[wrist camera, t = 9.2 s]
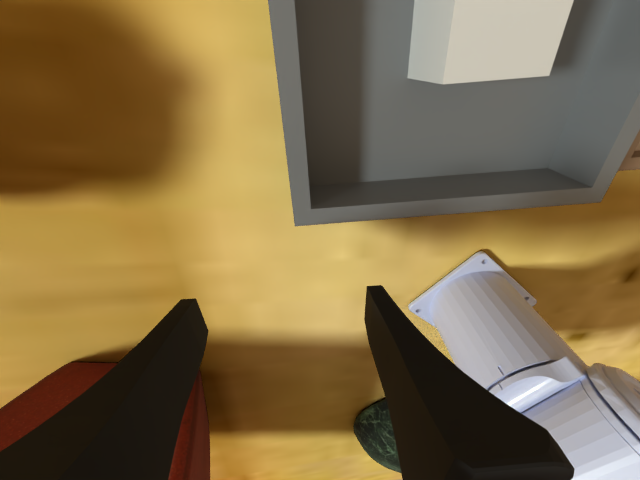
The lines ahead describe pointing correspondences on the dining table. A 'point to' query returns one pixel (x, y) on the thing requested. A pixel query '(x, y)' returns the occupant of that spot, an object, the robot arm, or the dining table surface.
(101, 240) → the dining table surface
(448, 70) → the block
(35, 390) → the plant pot
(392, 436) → the goblet
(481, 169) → the bin
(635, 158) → the tray
